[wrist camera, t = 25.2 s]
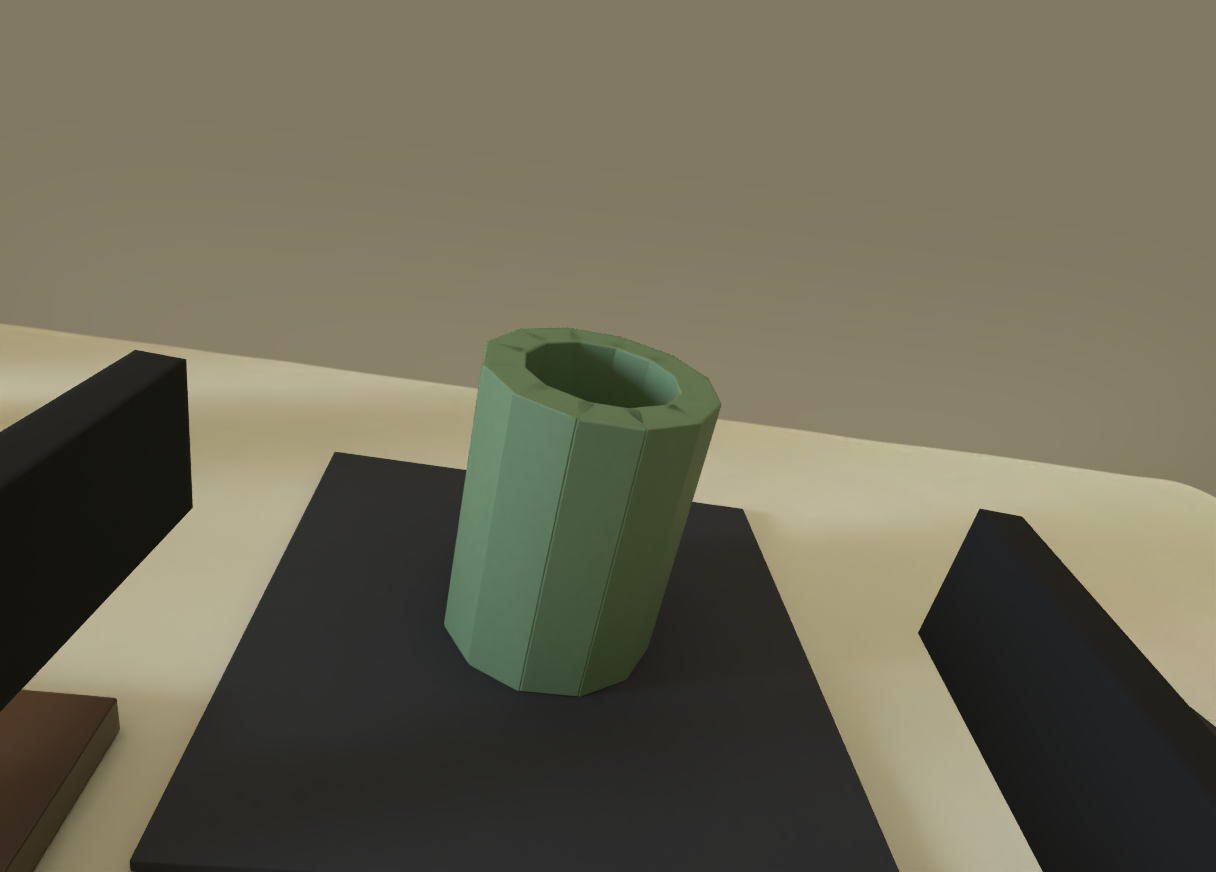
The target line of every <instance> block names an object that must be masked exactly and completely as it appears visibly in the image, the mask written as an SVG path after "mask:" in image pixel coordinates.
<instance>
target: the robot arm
mask: <svg viewBox="0 0 1216 872" xmlns="http://www.w3.org/2000/svg"><path fill="white" fill-rule="evenodd" d="M192 508H193V504H192V481H191V459H190V436H189V413H188V391H187V368H186V359H181V358H176V357H170V356H165V355H160V354H155V353H149V352H144V351H139V350H134V351H133V352H131V353H130V354H128V355H126V356H125V357H123V358H121V359H120V360H118V361H116V362H115V363H113V364H112V365H110V366H108V367H107V368H105V369H103V370H102V371H100V372H98V373H97V374H95V375H93V376H92V377H90V378H89V379H87V380H85V381H84V382H82V383H80V384H79V385H77V386H75V387H74V388H72V389H70V390H69V391H67V392H66V393H64V394H62V395H61V396H59V397H57V398H56V399H54V400H52V401H51V402H49V403H47V404H46V405H44V406H43V407H41V408H39V409H38V410H36V411H34V412H33V413H31V414H29V415H28V416H26V417H24V418H23V419H21V420H20V421H18V422H16V423H15V424H13V425H11V426H10V427H8V428H6V429H5V430H3V431H1V432H0V712H1V711H2V710H3V709H4V708H5V706H6V705H7V704H8V703H9V702H10V701H11V700H12V699H13V698H14V697H15V696H16V695H17V694H18V693H19V692H20V690H21V689H22V688H23V687H24V686H25V685H26V684H27V683H28V682H29V681H30V680H31V679H32V678H33V677H34V676H35V675H36V673H37V672H38V671H39V670H40V669H41V668H42V667H43V666H44V665H45V664H46V663H47V662H48V661H49V660H50V659H51V658H52V656H53V655H54V654H55V653H56V652H57V651H58V650H59V649H60V648H61V647H62V646H63V645H64V644H65V643H66V642H67V641H68V639H69V638H70V637H71V636H72V635H73V634H74V633H75V632H76V631H77V630H78V629H79V628H80V627H81V626H82V625H83V624H84V622H85V621H86V620H87V619H88V618H89V617H90V616H91V615H92V614H93V613H94V612H95V611H96V610H97V609H98V608H99V607H100V605H101V604H102V603H103V602H104V601H105V600H106V599H107V598H108V597H109V596H110V595H111V594H112V593H113V592H114V591H115V590H116V588H117V587H118V586H119V585H120V584H121V583H122V582H123V581H124V580H125V579H126V578H127V577H128V576H129V575H130V574H131V573H132V571H133V570H134V569H135V568H136V567H137V566H138V565H139V564H140V563H141V562H142V561H143V560H144V559H145V558H146V557H147V556H148V554H149V553H150V552H151V551H152V550H153V549H154V548H155V547H156V546H157V545H158V544H159V543H160V542H161V541H162V540H163V539H164V537H165V536H166V535H167V534H168V533H169V532H170V531H171V530H172V529H173V528H174V527H175V526H176V525H177V524H178V523H179V522H180V520H181V519H182V518H183V517H184V516H185V515H186V514H187V513H188V512H189V511H190V510H191V509H192ZM918 634H919V636H920V638H921V639H922V641H923V643H924V645H925V647H926V649H927V651H928V653H929V655H930V657H931V659H932V661H933V662H934V664H935V666H936V668H937V670H938V672H939V674H940V676H941V678H942V680H943V682H944V683H945V685H946V687H947V689H948V691H949V693H950V695H951V697H952V699H953V701H954V703H955V705H956V706H957V708H958V710H959V712H960V714H961V716H962V718H963V720H964V722H965V724H966V726H967V727H968V729H969V731H970V733H971V735H972V737H973V739H974V741H975V743H976V745H977V747H978V749H979V750H980V752H981V754H982V756H983V758H984V760H985V762H986V764H987V766H988V768H989V770H990V771H991V773H992V775H993V777H994V779H995V781H996V783H997V785H998V787H999V789H1000V791H1001V793H1002V794H1003V796H1004V798H1005V800H1006V802H1007V804H1008V806H1009V808H1010V810H1011V812H1012V814H1013V815H1014V817H1015V819H1016V821H1017V823H1018V825H1019V827H1020V829H1021V831H1022V833H1023V835H1024V837H1025V838H1026V840H1027V842H1028V844H1029V846H1030V848H1031V850H1032V852H1033V854H1034V856H1035V858H1036V859H1037V861H1038V863H1039V865H1040V867H1041V869H1042V871H1043V872H1216V727H1215V726H1214V725H1213V724H1211V723H1210V722H1209V721H1207V720H1206V719H1205V718H1204V717H1202V716H1201V715H1200V714H1199V713H1197V712H1196V711H1195V710H1194V709H1192V708H1191V707H1189V706H1188V704H1187V703H1186V702H1185V701H1184V700H1183V699H1182V698H1181V696H1180V695H1179V694H1178V693H1177V692H1176V691H1175V690H1174V688H1173V687H1172V686H1171V685H1170V684H1169V683H1168V682H1167V681H1166V679H1165V678H1164V677H1163V676H1162V675H1161V674H1160V673H1159V671H1158V670H1157V669H1156V668H1155V667H1154V666H1153V665H1152V664H1151V662H1150V661H1149V660H1148V659H1147V658H1146V657H1145V656H1144V654H1143V653H1142V652H1141V651H1140V650H1139V649H1138V648H1137V647H1136V645H1135V644H1134V643H1133V642H1132V641H1131V640H1130V639H1129V637H1128V636H1127V635H1126V634H1125V633H1124V632H1123V631H1122V629H1121V628H1120V627H1119V626H1118V625H1117V624H1116V623H1115V622H1114V620H1113V619H1112V618H1111V617H1110V616H1109V615H1108V614H1107V612H1106V611H1105V610H1104V609H1103V608H1102V607H1101V606H1100V605H1099V603H1098V602H1097V601H1096V600H1095V599H1094V598H1093V597H1092V595H1091V594H1090V593H1089V592H1088V591H1087V590H1086V589H1085V587H1084V586H1083V585H1082V584H1081V583H1080V582H1079V581H1078V580H1077V578H1076V577H1075V576H1074V575H1073V574H1072V573H1071V572H1070V570H1069V569H1068V568H1067V567H1066V566H1065V565H1064V564H1063V563H1062V561H1061V560H1060V559H1059V558H1058V557H1057V556H1056V555H1055V553H1054V552H1053V551H1052V550H1051V549H1050V548H1049V547H1048V545H1047V544H1046V543H1045V542H1044V541H1043V540H1042V539H1041V538H1040V536H1039V535H1038V534H1037V533H1036V532H1035V531H1034V530H1033V528H1032V527H1031V526H1030V525H1029V524H1028V523H1027V522H1026V521H1025V519H1024V518H1023V517H1021V516H1016V515H1011V514H1005V513H1000V512H995V511H989V510H984V509H979V511H978V513H977V515H976V517H975V519H974V521H973V523H972V525H971V527H970V529H969V531H968V533H967V535H966V537H965V540H964V542H963V544H962V546H961V548H960V550H959V552H958V554H957V556H956V558H955V560H954V562H953V564H952V566H951V568H950V570H949V572H948V574H947V576H946V578H945V580H944V582H943V584H942V586H941V588H940V590H939V592H938V594H937V596H936V598H935V600H934V602H933V604H932V606H931V608H930V610H929V612H928V614H927V616H926V618H925V620H924V622H923V624H922V626H921V628H920V630H919V632H918Z"/></svg>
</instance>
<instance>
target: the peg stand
mask: <svg viewBox="0 0 1216 872" xmlns="http://www.w3.org/2000/svg"><path fill="white" fill-rule="evenodd" d="M119 729H120V726H119V716H118V706H117V699H116V698H111V697H99V696H88V695H76V694H64V693H53V692H41V691H29V690H20V692H19V693H18V694H17V695H16V696H15V697H14V698H13V699H12V700H11V701H10V702H9V703H8V704H7V705H6V706H5V708H4V709H3V710H2V711H1V712H0V872H32V871H33V870H34V868H35V866H36V865H37V863H38V861H39V860H40V858H41V856H42V855H43V853H44V852H45V850H46V848H47V847H48V845H49V843H50V842H51V840H52V839H53V837H54V835H55V834H56V832H57V830H58V829H59V827H60V825H61V824H62V822H63V821H64V819H65V817H66V816H67V814H68V812H69V811H70V809H71V808H72V806H73V804H74V803H75V801H76V799H77V798H78V796H79V794H80V793H81V791H82V790H83V788H84V786H85V785H86V783H87V781H88V780H89V778H90V776H91V775H92V773H93V772H94V770H95V768H96V767H97V765H98V763H99V762H100V760H101V759H102V757H103V755H104V754H105V752H106V750H107V749H108V747H109V745H110V744H111V742H112V741H113V739H114V737H115V736H116V734H117V732H118V731H119Z"/></svg>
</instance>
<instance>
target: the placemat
mask: <svg viewBox="0 0 1216 872" xmlns="http://www.w3.org/2000/svg"><path fill="white" fill-rule="evenodd" d="M465 477H466V470H461V469H454V468H447V467H440V466H433V465H425V464H418V463H411V462H404V461H397V460H390V459H383V458H376V457H368V456H361V455H354V454H347V453H340V452H335V453H334V455H333V457H332V459H331V461H330V463H329V465H328V467H327V469H326V471H325V473H324V475H323V477H322V479H321V481H320V483H319V485H318V487H317V489H316V491H315V493H314V495H313V497H312V499H311V501H310V503H309V505H308V507H307V509H306V511H305V513H304V515H303V517H302V518H301V520H300V522H299V524H298V526H297V528H296V530H295V532H294V534H293V536H292V538H291V540H290V542H289V544H288V546H287V548H286V550H285V552H284V554H283V556H282V558H281V560H280V562H279V564H278V566H277V568H276V570H275V572H274V574H273V576H272V578H271V580H270V582H269V584H268V586H267V588H266V590H265V592H264V594H263V596H262V598H261V600H260V602H259V604H258V606H257V608H256V610H255V612H254V614H253V616H252V618H251V620H250V622H249V624H248V626H247V628H246V630H245V632H244V634H243V636H242V638H241V640H240V642H239V644H238V646H237V648H236V650H235V652H234V654H233V656H232V658H231V660H230V662H229V664H228V666H227V668H226V670H225V672H224V674H223V676H222V678H221V680H220V682H219V684H218V686H217V688H216V690H215V692H214V694H213V696H212V698H211V700H210V702H209V704H208V706H207V708H206V710H205V712H204V714H203V716H202V718H201V720H200V722H199V724H198V726H197V728H196V730H195V732H194V734H193V736H192V738H191V740H190V742H189V744H188V746H187V748H186V750H185V752H184V754H183V756H182V758H181V760H180V762H179V764H178V766H177V768H176V770H175V772H174V774H173V776H172V778H171V780H170V782H169V784H168V786H167V788H166V790H165V792H164V794H163V796H162V798H161V800H160V802H159V804H158V806H157V808H156V810H155V812H154V814H153V816H152V818H151V820H150V822H149V824H148V826H147V828H146V830H145V832H144V834H143V836H142V838H141V840H140V842H139V844H138V846H137V848H136V849H135V851H134V853H133V855H132V857H131V859H130V868H131V871H138V872H899V870H898V868H897V865H896V863H895V861H894V858H893V856H892V854H891V851H890V849H889V847H888V845H887V842H886V840H885V838H884V835H883V833H882V831H881V828H880V826H879V824H878V821H877V819H876V817H875V814H874V812H873V810H872V807H871V805H870V803H869V800H868V798H867V796H866V794H865V791H864V789H863V787H862V784H861V782H860V780H859V777H858V775H857V773H856V770H855V768H854V766H853V763H852V761H851V759H850V756H849V754H848V752H847V749H846V747H845V745H844V743H843V740H842V738H841V736H840V733H839V731H838V729H837V726H836V724H835V722H834V719H833V717H832V715H831V712H830V710H829V708H828V705H827V703H826V701H825V699H824V696H823V694H822V692H821V689H820V687H819V685H818V682H817V680H816V678H815V675H814V673H813V671H812V668H811V666H810V664H809V661H808V659H807V657H806V654H805V652H804V650H803V648H802V645H801V643H800V641H799V638H798V636H797V634H796V631H795V629H794V627H793V624H792V622H791V620H790V617H789V615H788V613H787V610H786V608H785V606H784V603H783V601H782V599H781V597H780V594H779V592H778V590H777V587H776V585H775V583H774V580H773V578H772V576H771V573H770V571H769V569H768V566H767V564H766V562H765V559H764V557H763V555H762V553H761V550H760V548H759V546H758V543H757V541H756V539H755V536H754V534H753V532H752V529H751V527H750V525H749V522H748V520H747V518H746V515H745V513H744V511H743V509H739V508H732V507H725V506H717V505H710V504H703V503H696V502H692V504H691V507H690V510H689V514H688V517H687V520H686V524H685V527H684V530H683V534H682V537H681V540H680V543H679V547H678V550H677V553H676V557H675V560H674V563H673V567H672V570H671V573H670V577H669V580H668V583H667V586H666V590H665V593H664V596H663V600H662V603H661V606H660V610H659V613H658V616H657V620H656V623H655V626H654V629H653V633H652V636H651V639H650V643H649V646H648V648H647V650H646V651H645V653H644V654H643V656H642V657H641V659H640V660H639V662H638V663H637V665H636V666H635V668H634V669H633V671H632V672H631V674H630V675H629V677H628V678H627V679H626V680H625V681H622V682H619V683H617V684H614V685H611V686H608V687H605V688H603V689H600V690H597V691H594V692H592V693H589V694H586V695H583V696H581V697H578V696H567V695H556V694H546V693H535V692H525V691H517V690H515V689H513V688H511V687H510V686H508V685H506V684H504V683H502V682H500V681H498V680H497V679H495V678H493V677H491V676H489V675H487V674H485V673H484V672H482V671H480V670H478V669H476V668H474V667H473V666H471V665H469V663H468V662H467V661H466V659H465V657H464V656H463V654H462V653H461V651H460V650H459V648H458V646H457V645H456V643H455V642H454V640H453V639H452V637H451V635H450V634H449V632H448V631H447V629H446V628H445V624H444V621H445V614H446V607H447V600H448V593H449V587H450V580H451V573H452V566H453V559H454V552H455V545H456V539H457V532H458V525H459V518H460V511H461V504H462V498H463V491H464V484H465Z"/></svg>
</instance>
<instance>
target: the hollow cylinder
mask: <svg viewBox="0 0 1216 872" xmlns="http://www.w3.org/2000/svg"><path fill="white" fill-rule="evenodd" d="M720 408H721V402H720V400H719V398H718V396H717V394H716V392H715V390H714V388H713V386H712V384H711V382H710V380H709V379H708V378H707V377H706V376H704V375H703V374H701V373H699V372H698V371H696V370H695V369H693V368H692V367H690V366H689V365H687V364H686V363H684V362H682V361H681V360H679V359H678V358H676V357H675V356H673V355H670V354H668V353H664V352H662V351H659V350H656V349H653V348H651V347H648V346H645V345H642V344H640V343H637V342H634V341H631V340H628V339H626V338H622V337H619V336H614V335H608V334H602V333H596V332H590V331H585V330H579V329H574V328H537V329H536V328H535V329H518V330H516V331H513V332H510V333H508V334H505V335H503V336H500V337H498V338H495V339H493V340H490V341H488V342H487V343H486V345H485V351H484V357H483V362H482V368H481V375H480V382H479V388H478V395H477V402H476V409H475V416H474V422H473V429H472V436H471V443H470V450H469V457H468V463H467V470H466V477H465V484H464V491H463V498H462V504H461V511H460V518H459V525H458V532H457V539H456V545H455V552H454V559H453V566H452V573H451V580H450V587H449V593H448V600H447V607H446V614H445V621H444V624H445V628H446V629H447V631H448V632H449V634H450V635H451V637H452V639H453V640H454V642H455V643H456V645H457V646H458V648H459V650H460V651H461V653H462V654H463V656H464V657H465V659H466V661H467V662H468V663H469V665H471V666H473V667H474V668H476V669H478V670H480V671H482V672H484V673H485V674H487V675H489V676H491V677H493V678H495V679H497V680H498V681H500V682H502V683H504V684H506V685H508V686H510V687H511V688H513V689H515V690H517V691H525V692H535V693H546V694H556V695H567V696H578V697H581V696H583V695H586V694H589V693H592V692H594V691H597V690H600V689H603V688H605V687H608V686H611V685H614V684H617V683H619V682H622V681H625V680H626V679H627V678H628V677H629V675H630V674H631V672H632V671H633V669H634V668H635V666H636V665H637V663H638V662H639V660H640V659H641V657H642V656H643V654H644V653H645V651H646V650H647V648H648V646H649V643H650V639H651V636H652V633H653V629H654V626H655V623H656V620H657V616H658V613H659V610H660V606H661V603H662V600H663V596H664V593H665V590H666V586H667V583H668V580H669V577H670V573H671V570H672V567H673V563H674V560H675V557H676V553H677V550H678V547H679V543H680V540H681V537H682V534H683V530H684V527H685V524H686V520H687V517H688V514H689V510H690V507H691V504H692V500H693V497H694V494H695V491H696V487H697V484H698V481H699V477H700V474H701V471H702V467H703V464H704V461H705V457H706V454H707V451H708V448H709V444H710V441H711V438H712V434H713V431H714V428H715V424H716V421H717V418H718V414H719V411H720Z"/></svg>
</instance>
